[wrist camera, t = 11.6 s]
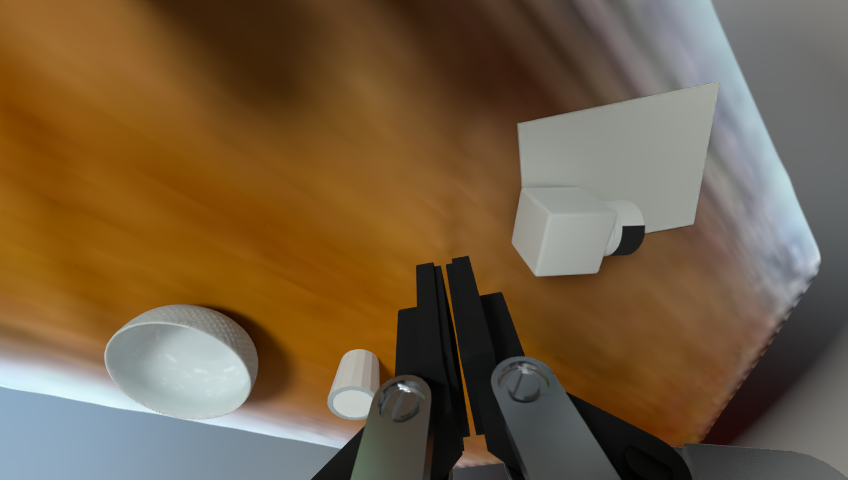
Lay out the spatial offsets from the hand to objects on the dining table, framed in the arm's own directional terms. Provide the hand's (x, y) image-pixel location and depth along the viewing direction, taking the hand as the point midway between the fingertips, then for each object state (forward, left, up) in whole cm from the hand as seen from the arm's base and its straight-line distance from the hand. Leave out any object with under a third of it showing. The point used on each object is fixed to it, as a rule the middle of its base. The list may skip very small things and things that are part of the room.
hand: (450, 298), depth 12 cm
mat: (+10, +20, -29) cm, 36 cm away
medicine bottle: (+12, +8, -24) cm, 28 cm away
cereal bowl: (+22, -35, -29) cm, 51 cm away
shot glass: (+32, -16, -29) cm, 46 cm away
